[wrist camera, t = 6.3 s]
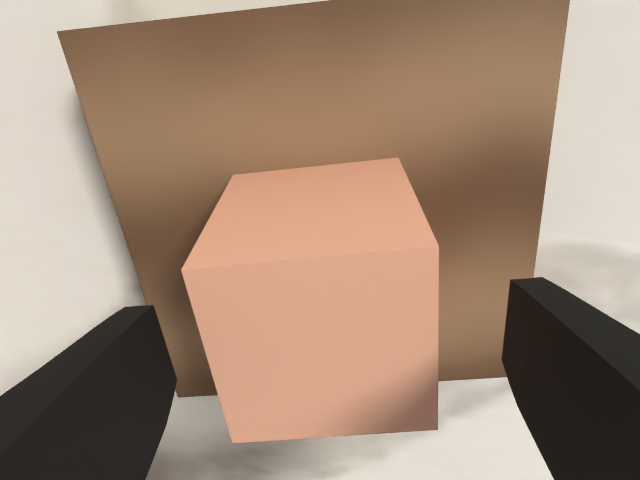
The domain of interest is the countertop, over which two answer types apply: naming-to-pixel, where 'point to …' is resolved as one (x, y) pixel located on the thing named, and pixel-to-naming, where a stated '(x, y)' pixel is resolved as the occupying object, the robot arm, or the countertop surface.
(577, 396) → the robot arm
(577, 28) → the countertop surface
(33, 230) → the countertop surface
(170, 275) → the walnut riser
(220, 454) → the countertop surface
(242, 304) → the terracotta block
